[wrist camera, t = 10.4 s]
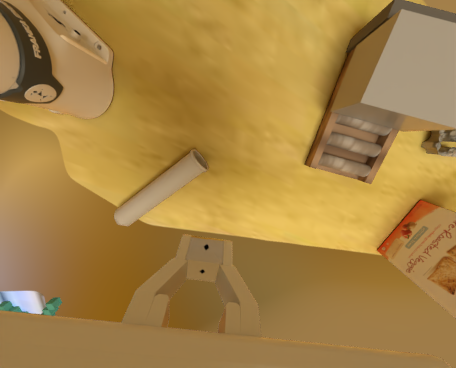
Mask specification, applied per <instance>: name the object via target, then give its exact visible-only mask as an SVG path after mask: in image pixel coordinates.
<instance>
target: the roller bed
mask: <svg viewBox="0 0 456 368" xmlns="http://www.w3.org/2000/svg"><path fill="white" fill-rule="evenodd" d="M401 9H404V10H407V11H411V12H415V13H419V14H423V15H426V16H430V17H434V18H438V19H442V20H446V21H449V22H453V23H456V14H455V13H451V12H447V11H444V10H439V9H436V8H432V7H428V6H424V5H421V4H417V3H413V2H409V1H405V0H393V1H392V2H391V3H390V4H389V5H388V6H387V7H385V8H384V9H383V10H382V11H381V12H380V13H379V14H378V15H377V16H376V17H375V18H373V19H372V20H371V21H370V22H369V23H368V24H367V25H366V26H365V27H364V28H363V29H361V30H360V31H359V32H358V33H357V34H356V35H355V36H354V37H353V38H352V39H351V41H350V43H349V46H348V48H347V51H346V52H347V53H349V54H348V56H347V59H346V61H345V64H344V66H343V69H342V71H341V74H340V76H339V79H338V81H337V84H336V86H335V89H334V92H333V94H332V97H331V99H330V102H329V104H328V107H327V109H326V112H325V114H324V117H323V119H322V122H321V124H320V127H319V129H318V132H317V135H316V137H315V140H314V142H313V145H312V147H311V150H310V152H309V155H308V157H307V160H306V162H305V165H306V166H309V167H312V168H315V169H316V168H318V169H321V170H325V171H328V172H332V173H336V174H339V175H343V176H346V177H350V178H354V179H357V180H360V181H363V182H366V183H369V184H371V183H372V181H373V179H374V177H375V175H376V173H377V172H378V170H379V168H380V166H381V164H382V162H383V160H384V158H385V156H386V154H387V152H388V150H389V149H390V147H391V145H392V143H393V141H394V139H395V137H396V135H397V133H398V131H399V130H396V129H392V128H388V127H385V126H381V125H377V124H374V123H370V122H366V121H363V120H359V119H355V118H352V117H348V116H344V115H341V114H337V113H333V112H330V111H331V108H332V106H333V103H334V101H335V98H336V96H337V93H338V91H339V88H340V86H341V83H342V81H343V78H344V76H345V73H346V71H347V68H348V66H349V63H350V61H351V58H352V56H353V53H354V51H355V48H356V46H357V45H358V44H359V43H360V42H362V41H363V40H364V39H365V38H367V37H368V36H369V35H370V34H372V33H373V32H374V31H375V30H376V29H378V28H379V27H380V26H381V25H383V24H384V23H385V22H386V21H388V20H389V19H390V18H391V17H392V16H394V15H395V14H396V13H397V12H399V11H400V10H401Z"/></svg>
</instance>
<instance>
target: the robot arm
mask: <svg viewBox="0 0 456 368" xmlns="http://www.w3.org/2000/svg"><path fill="white" fill-rule="evenodd" d="M100 47H101V50H100ZM112 62H113V52H112V50H111V48H110V47H109V46H108V45H107V44H106V43H105V42H104V41H103V40H102V39H101V38H100V37H99V36H97V35H96V34H95V33H94V32H93V31H92V30H91V29H90V28H89V27H88V26H87V25H86V24H85V23H84V22H83V21H82V20H81V19H80V18H79V17H78V16H77V15H76V14H75V13H74V12H73V11H72V10H71V9H70V8H69V7H68V6H67V5H66V4H65V3H64V2H63V1H62V0H0V100H2V101H10V102H16V103H25V104H29V105H33V106H37V107H41V108H45V109H49V111H51V112H53V113H57V114H69V115H72V116H75V117H78V118H82V119H92V118H96V117H98V116H100V115H101V114H103V113H104V112H105V111H106V110H107V108H108V107H109V105H110V103H111V100H112V97H113V90H114V85H113V77H112V69H111V68H112ZM186 279H193V280H202V281H209V282H215V284H216V287H217V289H218V292H219V294H220V297H221V299H222V302H223V304H224V306H225V309H224V312H223V314H222V317H221V320H220V322H219V326H218V333H215V332H206V331H197V330H186V329H177V328H168V327H167V326H168V322H169V300H170V299H171V297H172V296H173V295H174V294H175V293H176V291H177V290H178V289H179V288H180V287H181V285H182V284H183V283H184V282H185V281H186ZM0 368H452V366H450V365H449V364H448V363H446V362H445V361H444V360H443V359H440V358H439V357H436V356H433V355H429V354H419V353H410V352H400V351H391V350H381V349H371V348H361V347H351V346H341V345H332V344H323V343H313V342H302V341H293V340H284V339H273V338H264V337H262V336H261V327H260V319H259V309H258V304H257V302H256V301H255V299H254V297H253V296H252V294H251V292H250V291H249V289H248V287H247V286H246V284H245V283H244V281H243V279H242V278H241V276H240V274H239V273H238V271H237V269H236V268H235V266H232V241H228V240H222V239H214V238H205V237H199V236H193V235H187V234H183V236H182V239H181V242H180V245H179V248H178V251H177V254H176V257H175V258H172V259H171V260H170V261H169V262H168V263H166V264H165V265H164V266H163V267H162V268H161V269H160V270H159V271H157V272H156V273H155V274H154V275H153V276H152V277H151V278H149V279H148V280H147V281H146V282H145V283H144V284H143V285H141V286H140V287H139V288H138V289H137V290H136V291H135V294H134V296H133V298H132V300H131V302H130V304H129V307H128V309H127V311H126V313H125V315H124V317H123V320H122V322H121V323H119V322H109V321H99V320H89V319H79V318H70V317H60V316H51V315H41V314H31V313H22V312H12V311H2V310H0Z"/></svg>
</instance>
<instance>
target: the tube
mask: <svg viewBox="0 0 456 368" xmlns="http://www.w3.org/2000/svg"><path fill="white" fill-rule="evenodd" d="M208 169H209V167H208V164H207V162H206V161H205V160H204V158H203V157H202V156H201V154H200V153H199V152H198V151H197V150H196V149H193V150H191V151H190V153H189V154H188V155H186V156H185V157H184V158H182V159H181V160H180V161H178V162H177V163H176V164H175V165H173V166H172V167H171V168H169V169H168V170H167V171H166V172H164V173H163V174H162V175H160V176H159V177H158V178H156V179H155V180H154V181H153V182H151V183H150V184H149V185H147V186H146V187H145V188H144V189H142V190H141V191H140V192H138V193H137V194H136V195H135V196H133V197H132V198H131V199H129V200H128V201H127V202H125V203H124V204H123V205H122V206H120V207H119V208H118V209H116V211H115V214H114V219H115V221H116V223H117V224H119V225H125V226H129V225H130V224H132V223H133V222H135V221H136V220H137V219H139V218H140V217H142V216H143V215H144V214H146V213H147V212H148V211H150V210H151V209H153V208H154V207H155V206H157V205H158V204H160V203H161V202H162V201H164V200H165V199H166V198H168V197H169V196H171V195H172V194H173V193H175V192H176V191H178V190H179V189H180V188H182V187H183V186H184V185H186V184H187V183H189V182H190V181H191V180H193V179H194V178H196V177H197V176H198V175H200V174H201V173H202V172H206V171H207V170H208Z"/></svg>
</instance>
